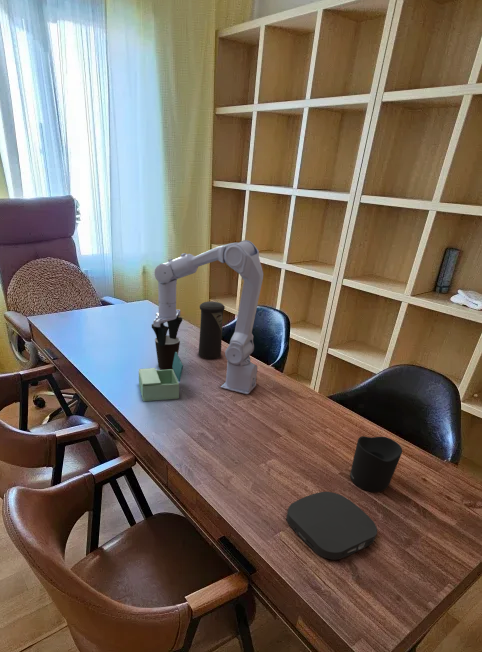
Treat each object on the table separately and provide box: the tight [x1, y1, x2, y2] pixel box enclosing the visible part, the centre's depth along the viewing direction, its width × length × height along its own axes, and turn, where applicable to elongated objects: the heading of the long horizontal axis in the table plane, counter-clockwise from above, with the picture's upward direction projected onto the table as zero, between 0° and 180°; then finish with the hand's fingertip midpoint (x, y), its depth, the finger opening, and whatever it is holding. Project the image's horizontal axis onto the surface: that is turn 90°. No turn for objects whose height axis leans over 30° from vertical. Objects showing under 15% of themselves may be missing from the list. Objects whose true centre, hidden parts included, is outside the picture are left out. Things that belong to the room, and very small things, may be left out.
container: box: [198, 300, 225, 360], centre depth 156 cm, size 9×9×20 cm
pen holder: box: [349, 435, 403, 493], centre depth 97 cm, size 9×9×10 cm
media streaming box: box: [286, 491, 378, 561], centre depth 85 cm, size 15×15×3 cm
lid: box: [172, 352, 184, 383], centre depth 131 cm, size 5×11×1 cm
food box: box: [138, 367, 180, 402], centre depth 133 cm, size 11×11×6 cm
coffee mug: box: [154, 334, 181, 370], centre depth 149 cm, size 12×9×10 cm
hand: (167, 341), depth 144 cm, fingers open, 7 cm apart
